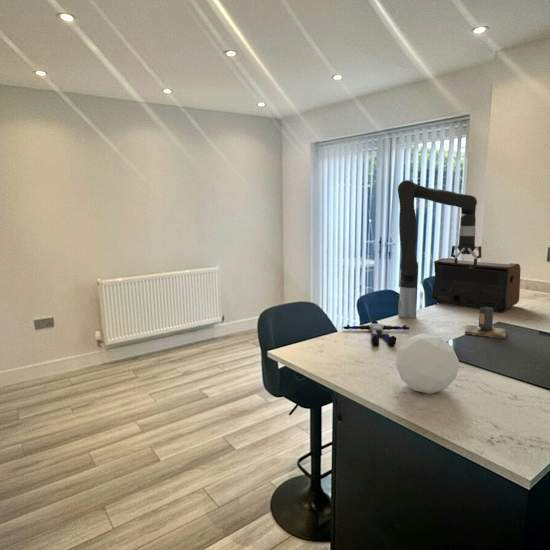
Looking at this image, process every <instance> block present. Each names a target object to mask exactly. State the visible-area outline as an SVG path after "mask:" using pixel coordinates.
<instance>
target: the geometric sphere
mask: <svg viewBox="0 0 550 550" xmlns="http://www.w3.org/2000/svg"><path fill="white" fill-rule="evenodd" d="M459 364H460V361H459V358H458V357H457V354H456V352H455V349H454V348H453V346H452V345H451V344H450V343H448V342H447V341H445V340H443V338H440V336H436V335H432V334H428V333H424V332H422V333H419V334H416V335H413V336H411V337H408V338H407V339H406V340H405V341H404V342H403V343H402V344H401V345H400V346H399V347H398V348H397V352H396V362H395V366H396V369H397V371H398V374H399V378H400V380H401V381H403V383H405V384H406V385H407V386H408V387H409V388H411V389H412V390H413V391H416V392H419V393H423V394H428V395H432V394H434V393H438V392H441V391H444V390H446V389H448V388H449V386H451V384H452V383H453V382H454V381H455V380H456V379H457V377H458V371H459V366H460V365H459Z"/></svg>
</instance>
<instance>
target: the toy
mask: <svg viewBox="0 0 550 550" xmlns="http://www.w3.org/2000/svg"><path fill="white" fill-rule="evenodd" d="M342 328H343V330H361V331H362V330H363V331H364V330H367V331H370V332H371V334H370V335H371V339H370V341H371V343H372V345H373V347H374V348H378V347H380V338H379V337H381V338H382V340H385V341H386V344H387V345H388V347H389V348H394V347H395V346H396V343H397V337H396V336H394V335H391V336H390V335H389V334H388V333H387V332H386V330H387V331H391V330H397V331H398V330H403V331H408V330H410V326H407V324H404V325H402V326H398V325H394V326H392V325H384V324H383V323H379V322H378V321H377V320H376V319H374V320H372V321H371V323H369V324H367V325H366V324H365V325H353V326H350V325H349V324H346V325H345V326H343V327H342Z"/></svg>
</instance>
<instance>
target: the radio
mask: <svg viewBox="0 0 550 550" xmlns="http://www.w3.org/2000/svg"><path fill="white" fill-rule="evenodd" d="M454 261H455V258H453V257H450V258H449V257H445V258H444V257H443V258H439V259H437V260H434V261H433V263H434V281H433V285H432V293H431V299H432V300H433V301H434V302H436V303H438V304H444V305H451V306H455V307H456V306H457V307H462V308H468V309H474V310H480V308H481V307H491V308H494V310H493V313H499V314H500V313H504V312H505V311H507V310H508V309H511V307H513V306H515V305H517V304H518V303H519V301H520V296H521V295H520V292H521V288H520V286H521V270H522V269H521V266H520V264H519V263H513V262H512V263H498V262H497V263H496V262H483V261H482V262H480V261H477V265H475V266H474V261H472V260H471V261H470V260H458V262H457V265H456V264H454Z"/></svg>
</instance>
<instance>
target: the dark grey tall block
mask: <svg viewBox="0 0 550 550" xmlns="http://www.w3.org/2000/svg"><path fill="white" fill-rule="evenodd" d="M493 310H494V308H491V307H481V308H480V309H479V312H478V313H479V315H478V326H479V327H481V331H484V332H486V331H491V330H492V325H493V326H494V324H493V323H494V312H493Z"/></svg>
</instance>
